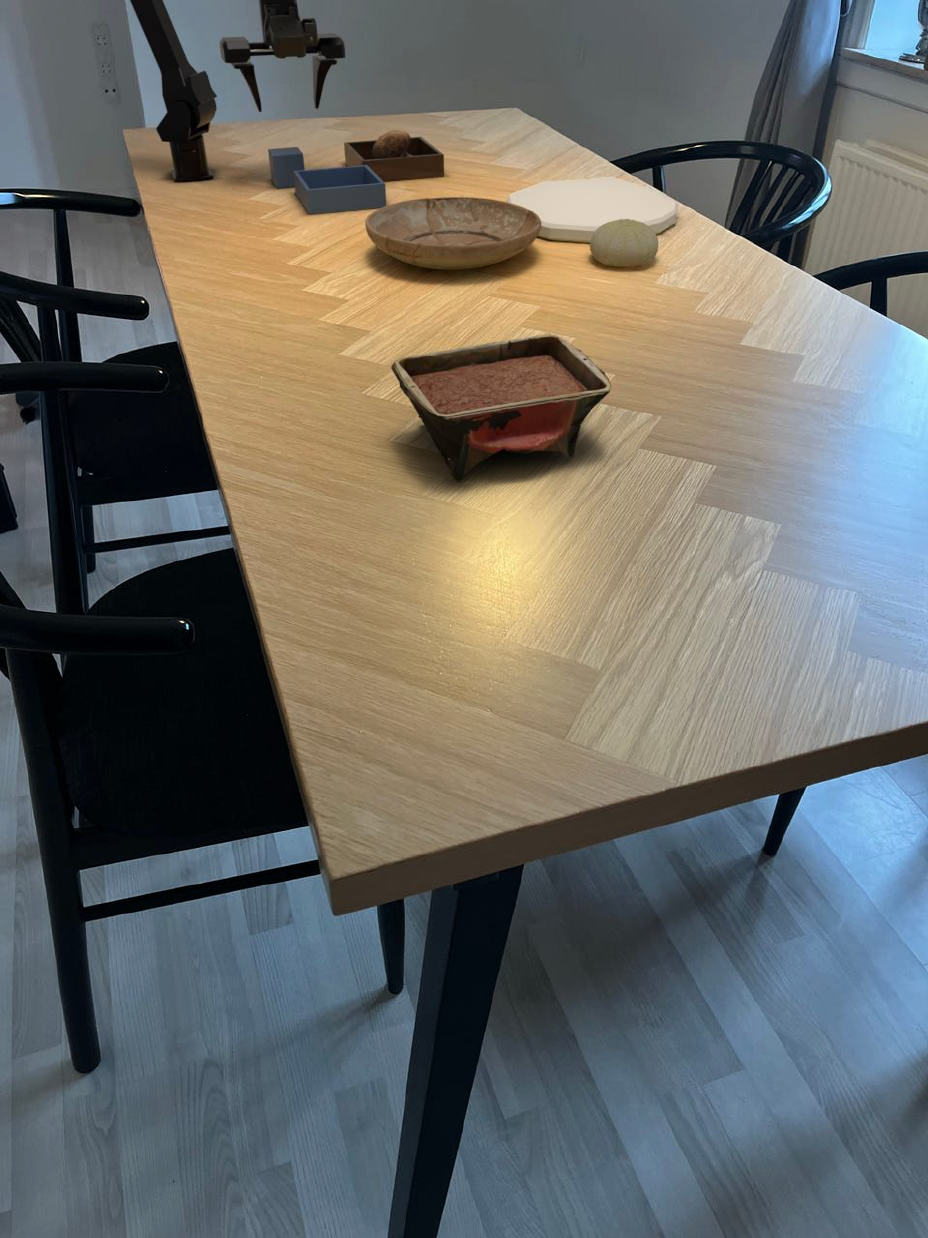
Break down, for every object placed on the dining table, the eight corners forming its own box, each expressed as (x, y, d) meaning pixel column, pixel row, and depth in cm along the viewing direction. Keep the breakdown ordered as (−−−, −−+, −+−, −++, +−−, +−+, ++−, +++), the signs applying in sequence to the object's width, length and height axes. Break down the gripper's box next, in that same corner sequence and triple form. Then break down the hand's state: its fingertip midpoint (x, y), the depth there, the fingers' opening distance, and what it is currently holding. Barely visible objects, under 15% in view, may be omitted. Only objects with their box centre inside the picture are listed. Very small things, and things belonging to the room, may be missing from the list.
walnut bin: (345, 163, 169) (343, 142, 167) (421, 157, 173) (421, 136, 170) (363, 183, 159) (362, 160, 157) (444, 176, 162) (443, 154, 160)
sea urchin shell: (676, 242, 127) (657, 207, 120) (647, 294, 127) (627, 262, 120) (620, 228, 132) (599, 193, 125) (592, 279, 132) (570, 247, 125)
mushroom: (428, 143, 165) (406, 112, 161) (413, 172, 161) (390, 141, 157) (396, 161, 170) (374, 132, 166) (381, 190, 167) (358, 160, 163)
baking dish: (605, 487, 85) (629, 378, 80) (413, 490, 79) (425, 373, 74) (546, 427, 96) (564, 329, 91) (375, 426, 91) (383, 321, 85)
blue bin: (295, 193, 154) (292, 170, 152) (368, 187, 157) (367, 164, 154) (309, 214, 145) (306, 190, 143) (386, 207, 148) (385, 183, 145)
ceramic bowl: (544, 285, 120) (546, 244, 117) (359, 285, 120) (356, 245, 117) (536, 230, 138) (537, 193, 135) (375, 230, 138) (373, 194, 135)
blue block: (271, 180, 160) (267, 148, 157) (301, 178, 161) (297, 146, 158) (276, 188, 156) (272, 155, 153) (306, 185, 158) (303, 153, 155)
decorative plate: (548, 220, 128) (486, 175, 146) (546, 252, 130) (486, 204, 149) (711, 203, 134) (633, 162, 152) (707, 234, 136) (630, 190, 155)
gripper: (221, 2, 135) (237, 123, 144) (349, -2, 139) (356, 116, 149) (212, -7, 143) (227, 109, 153) (333, -10, 148) (341, 102, 157)
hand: (288, 109), depth 153 cm, fingers open, 9 cm apart
